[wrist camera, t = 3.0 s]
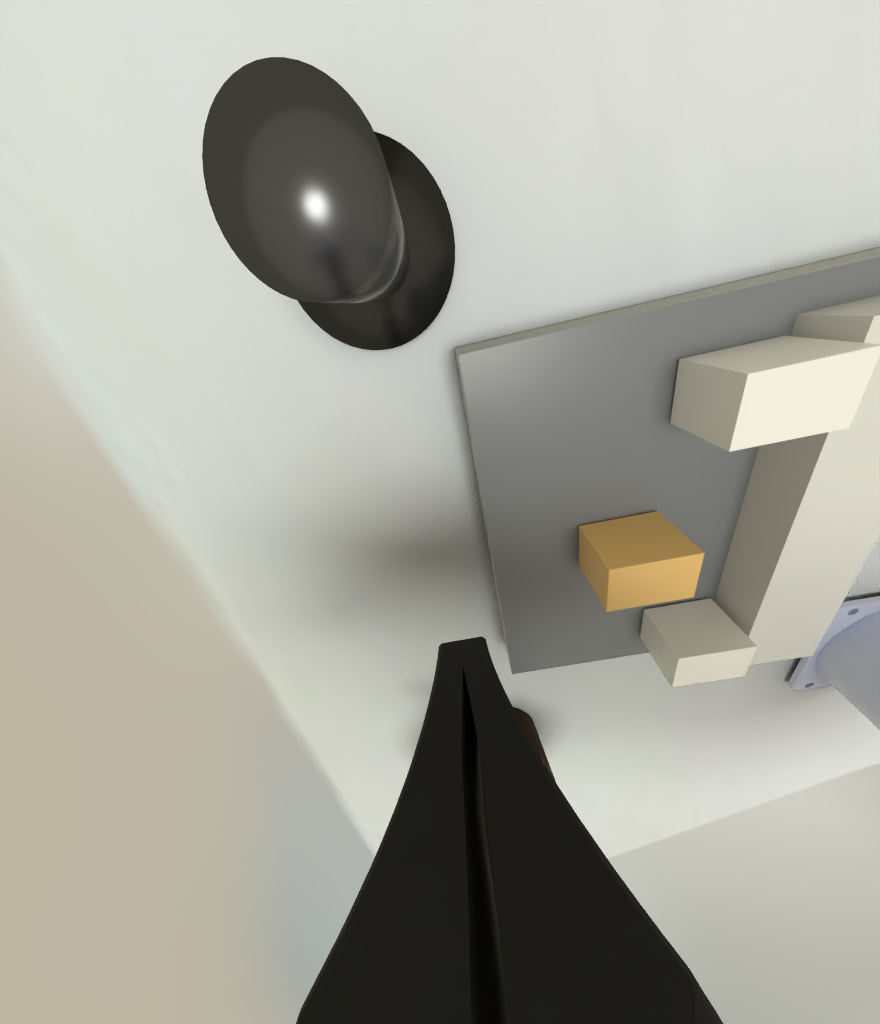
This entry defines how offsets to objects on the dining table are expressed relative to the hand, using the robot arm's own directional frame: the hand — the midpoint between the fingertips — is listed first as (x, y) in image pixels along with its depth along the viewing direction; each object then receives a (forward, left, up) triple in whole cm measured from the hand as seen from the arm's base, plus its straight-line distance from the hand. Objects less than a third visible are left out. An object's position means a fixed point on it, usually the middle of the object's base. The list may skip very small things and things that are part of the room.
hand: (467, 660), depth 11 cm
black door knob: (0, -11, -6) cm, 13 cm away
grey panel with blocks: (-9, 0, -6) cm, 11 cm away
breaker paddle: (-7, 0, -4) cm, 8 cm away
